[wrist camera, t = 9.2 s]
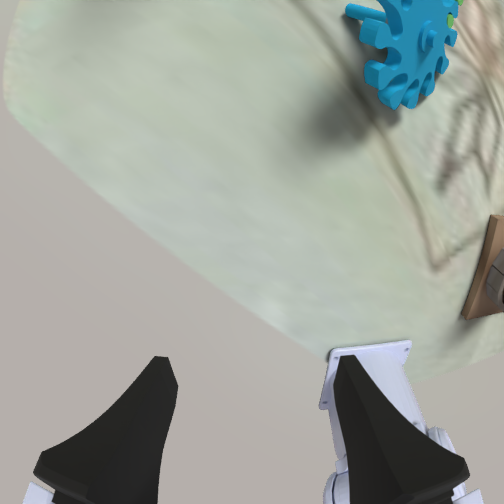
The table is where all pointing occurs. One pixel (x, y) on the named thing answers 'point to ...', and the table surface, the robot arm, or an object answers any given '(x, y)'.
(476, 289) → the manifold board
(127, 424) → the robot arm
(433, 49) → the gear
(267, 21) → the table surface
